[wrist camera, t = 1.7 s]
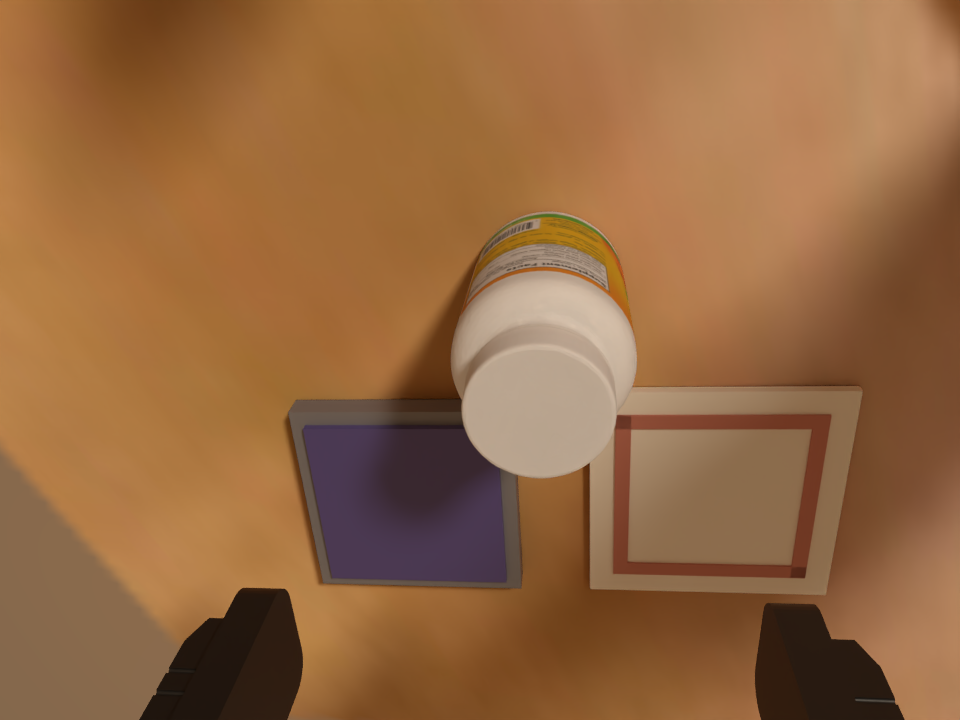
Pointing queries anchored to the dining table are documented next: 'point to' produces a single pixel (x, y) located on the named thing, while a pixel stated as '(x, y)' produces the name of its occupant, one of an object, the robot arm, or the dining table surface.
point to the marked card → (722, 489)
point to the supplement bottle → (544, 346)
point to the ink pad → (405, 495)
